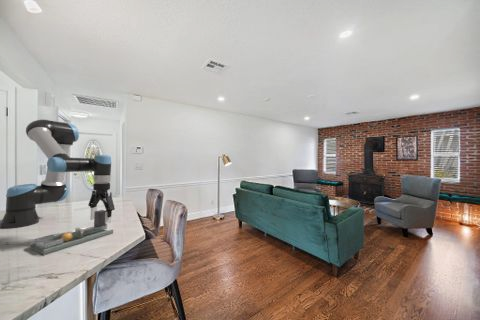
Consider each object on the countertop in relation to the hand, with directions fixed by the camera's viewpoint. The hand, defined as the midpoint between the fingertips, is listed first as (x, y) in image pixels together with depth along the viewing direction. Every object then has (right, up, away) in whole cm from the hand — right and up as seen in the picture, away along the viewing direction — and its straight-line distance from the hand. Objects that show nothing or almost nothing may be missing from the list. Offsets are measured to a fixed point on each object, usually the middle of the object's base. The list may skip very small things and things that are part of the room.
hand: (100, 221), depth 104 cm
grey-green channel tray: (-5, -6, -10) cm, 13 cm away
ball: (-6, -3, -13) cm, 15 cm away
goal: (-9, -6, -19) cm, 22 cm away
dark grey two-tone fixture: (-2, -5, -3) cm, 6 cm away
